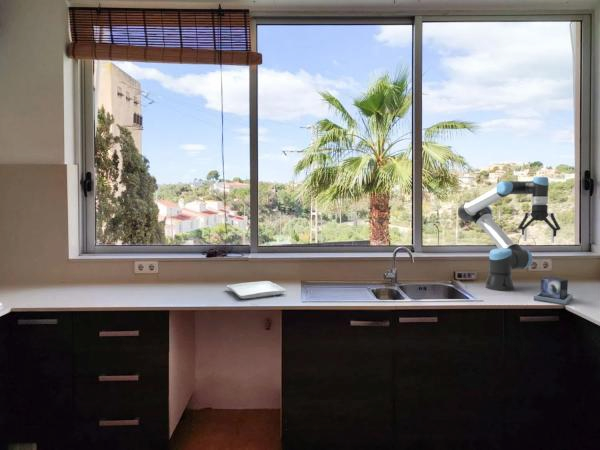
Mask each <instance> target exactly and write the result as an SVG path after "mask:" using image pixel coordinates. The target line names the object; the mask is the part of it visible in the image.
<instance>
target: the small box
mask: <svg viewBox="0 0 600 450" xmlns="http://www.w3.org/2000/svg"><path fill="white" fill-rule="evenodd" d="M568 284H569V279H565V278H559V277H555V276H549V275H547V276H543V277H542V276H541V277H540V291H541V296H543V297H547V298H554V299H561V300H565V299H566V298H567V294H568V289H569V288H568Z"/></svg>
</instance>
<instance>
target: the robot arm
mask: <svg viewBox="0 0 600 450" xmlns="http://www.w3.org/2000/svg"><path fill="white" fill-rule="evenodd" d="M549 185H550V184H549V178H548V177H547V176H536V177H533V178H532V180H531V181H530V180H529V181H528V180H527V181H521V180H520V181H513V180H509V181H508V180H504V181H503V180H502V181H499V182H498V183H497V185H496V186H495V187H494V188H492V189H490V190H489V191H487V192H485V193H484V194H482V195H480V196H478V197H477V198H475V199H473V200H471V201H466V202H465V203H463V204H461V205H460V206H459V208H458V210H457V215H458V217H459V219H460V220H461V221H464V222H473V223H474V224H475V225H476V226H477V227H480V228H481V229H482V230H483V231H484V232H485V233H486V235H487V236H488V237H489V238H490V240H491V241H492V242H493V243H494V245H496V247H497V248H493V249H491V250H490V251H489V256H488V259H489V260H488V261H489V263H488V276H487V278H486V281H485V286H484V287H485V288H487V289H490V290H495V291H505V292H506V291H507V292H509V291H514V289H515V284H514V281H513V278H512V270H515V271H516V270H525V269H528V268H529V267H530V266H531V265H532V263H533V255H532V252H531V251H529V250H528V249H523V248H522V247H521V246H520V245H519V244H518V243H514V242H513V240H511V239H510V237H509V236H508V235H507V234H506V233H505V232H504V231H503V229H502V228H501V227H500V226H499V225H498V223H496V222H495V220H494V219H493V217H494V215H493V211H492V210H493V209H492V208H491V205H493V204H494V203H497V202H498V201H500V200H502V199H504V198H505V197H507V196H510V195H532V197H531V204H532V205H531V213H530V212H524V217H523V219H522V221H521V222H520V224H519V226H518V229H521V235H523V242H526V241H527V238H528V237H527V236H528V233H527V232H528V230H527V228H528V227H529V226H530V225H531V224H532V223H533V222H534V221H536V222H538V221H540V222H543V221H544V222H545V223H546V224H547V225H548V226H549V228H551V229H552V230H551V234H550V235H551V240H550V242H551V243H554V242H555V237H557V231H559V230H561V227H560V225H559V223H558V221H557V220H556V217H555V213H554V212H551V213H548V208H549V207H548V204H549ZM530 216H531V219H529V221H528V222H527V220H528V218H529V217H530ZM548 217H550V218H551V221H552V222H553V223H552V222H550V220H549V219H548ZM525 223H526V224H525ZM553 224H554V225H553Z"/></svg>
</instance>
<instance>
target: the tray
mask: <svg viewBox="0 0 600 450" xmlns="http://www.w3.org/2000/svg"><path fill="white" fill-rule="evenodd" d="M573 298H574V294H573V293H567V298H566V299H565V300H561V299H554V298H547V297H543V296H541V290H540V291H539V292H537V293H536V294H534V295H533V301H537V302H543V303H549V304H553V305H554V304H555V305H562V306H567V305H568V304H569V303H571V301H573Z"/></svg>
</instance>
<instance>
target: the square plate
mask: <svg viewBox="0 0 600 450" xmlns="http://www.w3.org/2000/svg"><path fill="white" fill-rule="evenodd" d="M226 287H227V288H228V290H230V291H231V292H233V293H234V294H235V295H236V296H237V297H238V298H240V299H241V300H246V299H256V298H257V297H258V298H264V297H265V298H266V297H270V296H271V297H272V295H273V296H277V295H281V294H284V293H285V292H287V289H285V287H282V286H280V285H278V284H277V283H275V282H272V281H270V280H263V281H251V282H250V281H249V282H240V283H235V284H234V283H233V284H228V285H226Z"/></svg>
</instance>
